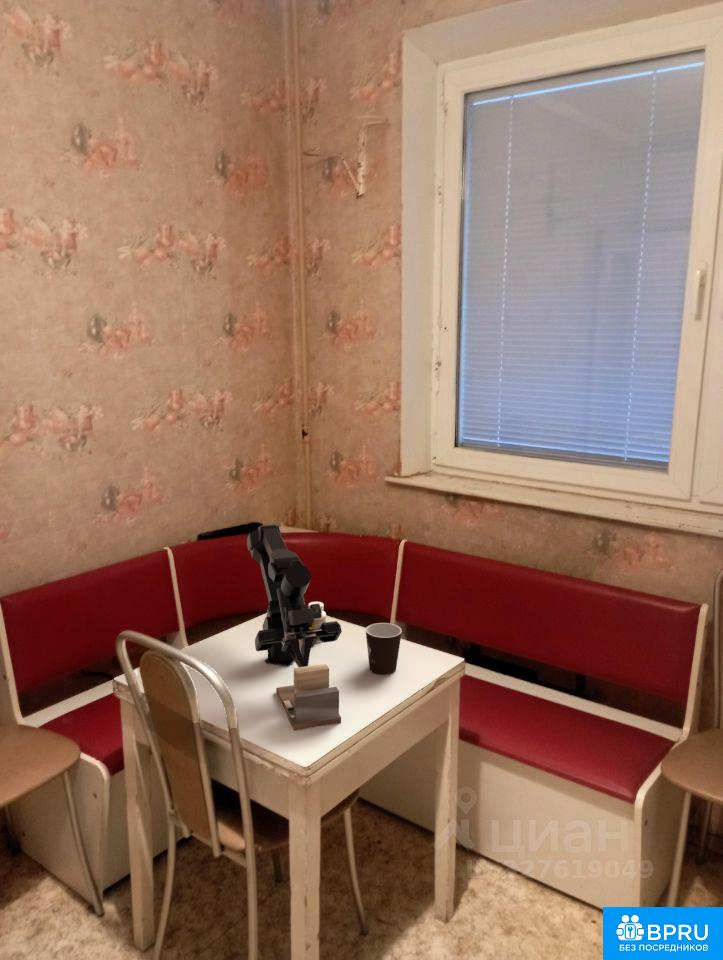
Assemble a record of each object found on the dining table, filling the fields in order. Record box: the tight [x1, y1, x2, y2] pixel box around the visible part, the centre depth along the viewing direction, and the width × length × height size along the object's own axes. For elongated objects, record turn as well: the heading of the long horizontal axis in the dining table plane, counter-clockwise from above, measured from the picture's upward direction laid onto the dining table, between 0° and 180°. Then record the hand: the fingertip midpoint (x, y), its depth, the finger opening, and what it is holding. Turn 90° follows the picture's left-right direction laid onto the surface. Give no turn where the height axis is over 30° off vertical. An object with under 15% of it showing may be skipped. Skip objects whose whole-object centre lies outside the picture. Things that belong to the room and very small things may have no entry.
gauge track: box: [275, 684, 342, 731], centre depth 154 cm, size 16×10×7 cm, turn 19°
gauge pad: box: [288, 663, 330, 711], centre depth 151 cm, size 2×9×9 cm, turn 109°
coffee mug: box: [365, 622, 403, 676], centre depth 174 cm, size 12×9×10 cm
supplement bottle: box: [307, 601, 327, 644], centre depth 189 cm, size 5×5×10 cm
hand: (305, 673), depth 155 cm, fingers closed
